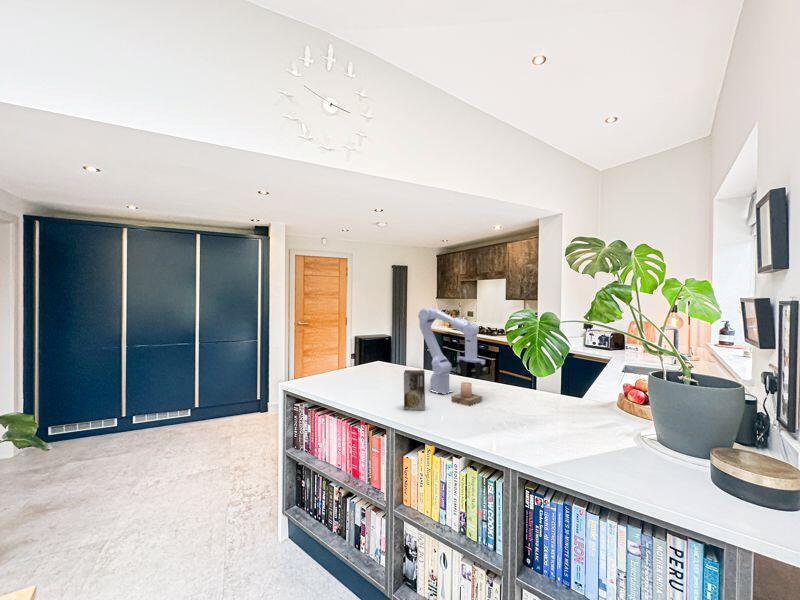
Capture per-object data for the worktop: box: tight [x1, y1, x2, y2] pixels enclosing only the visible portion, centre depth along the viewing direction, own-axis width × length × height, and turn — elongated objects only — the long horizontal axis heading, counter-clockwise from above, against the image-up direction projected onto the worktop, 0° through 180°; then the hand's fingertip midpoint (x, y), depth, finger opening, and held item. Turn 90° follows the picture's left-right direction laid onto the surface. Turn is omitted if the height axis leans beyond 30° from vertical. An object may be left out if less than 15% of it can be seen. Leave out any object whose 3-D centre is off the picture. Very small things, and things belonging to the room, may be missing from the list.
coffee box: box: [403, 369, 426, 411], centre depth 155 cm, size 9×6×16 cm
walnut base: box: [451, 392, 483, 407], centre depth 164 cm, size 10×10×2 cm
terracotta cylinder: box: [460, 381, 473, 398], centre depth 164 cm, size 5×5×6 cm
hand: (470, 377), depth 171 cm, fingers open, 7 cm apart
